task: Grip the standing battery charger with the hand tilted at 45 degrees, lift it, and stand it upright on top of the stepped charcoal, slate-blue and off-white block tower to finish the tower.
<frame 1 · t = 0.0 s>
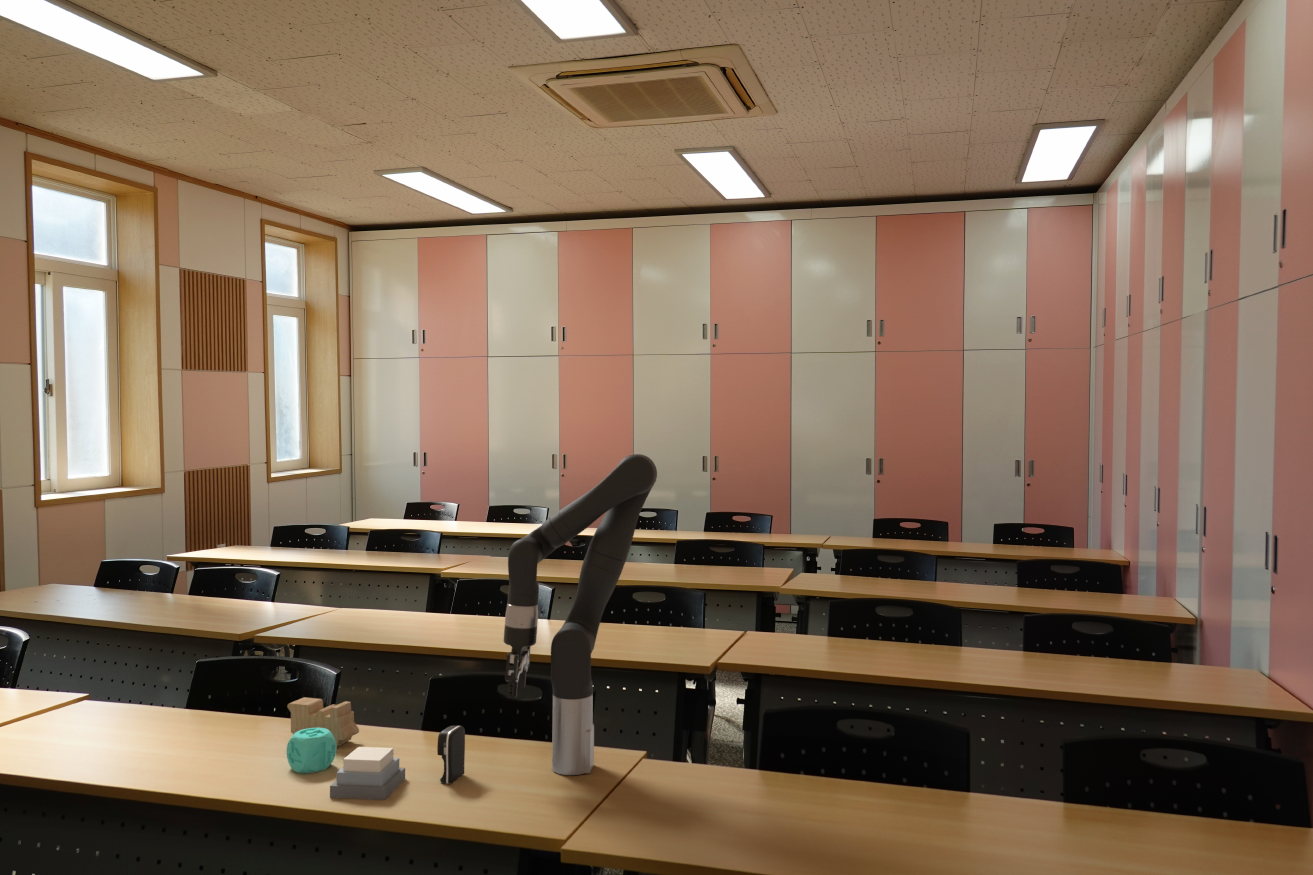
hand: (515, 692, 213), 17 cm above the table, tool pointing down, fingers open, 8 cm apart
toy train: (323, 743, 229), on the table
decorative dice: (311, 768, 212), on the table
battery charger: (450, 779, 205), on the table
block tower: (368, 787, 199), on the table
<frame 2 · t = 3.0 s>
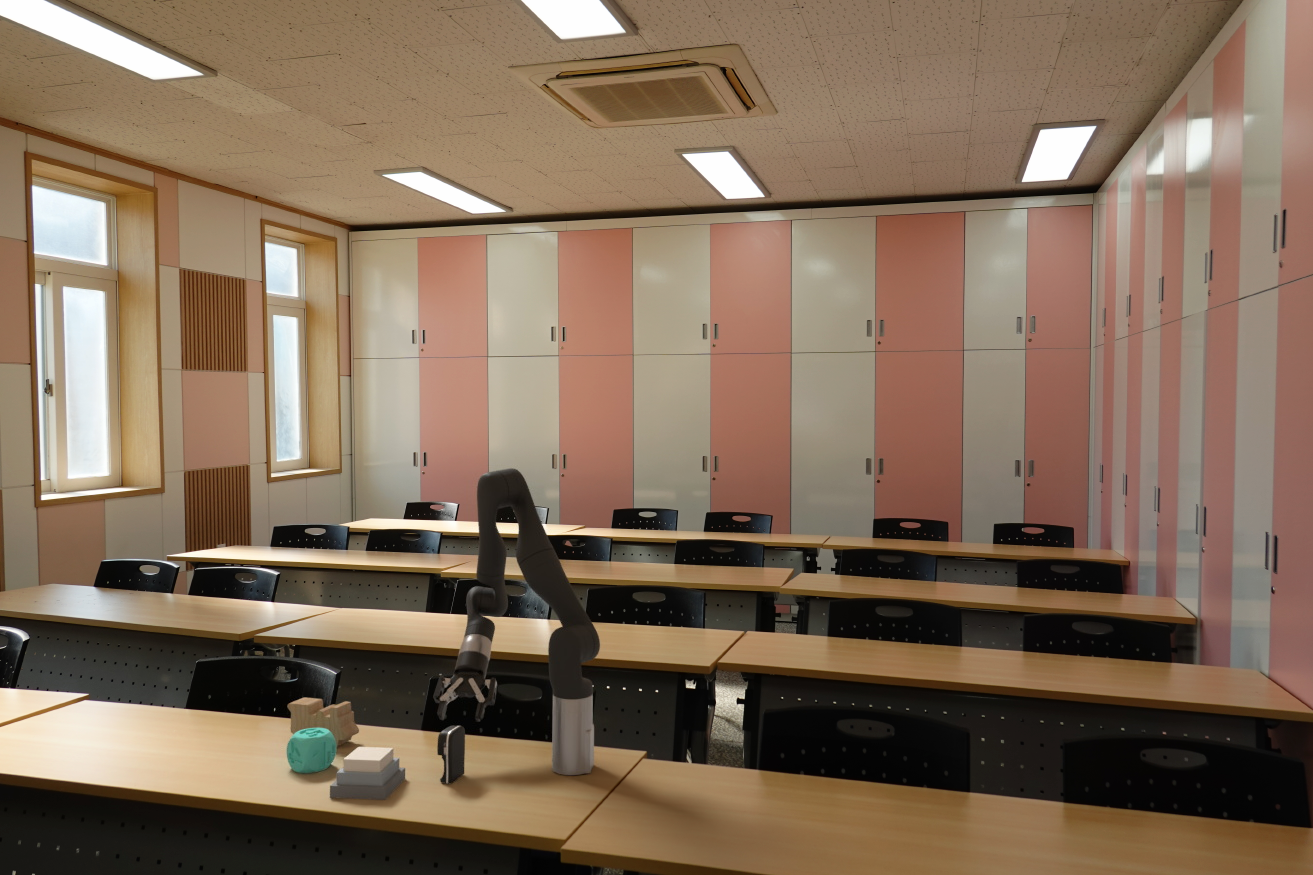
hand: (459, 719, 212), 11 cm above the table, tool tilted 45°, fingers open, 8 cm apart
nothing on the table moved.
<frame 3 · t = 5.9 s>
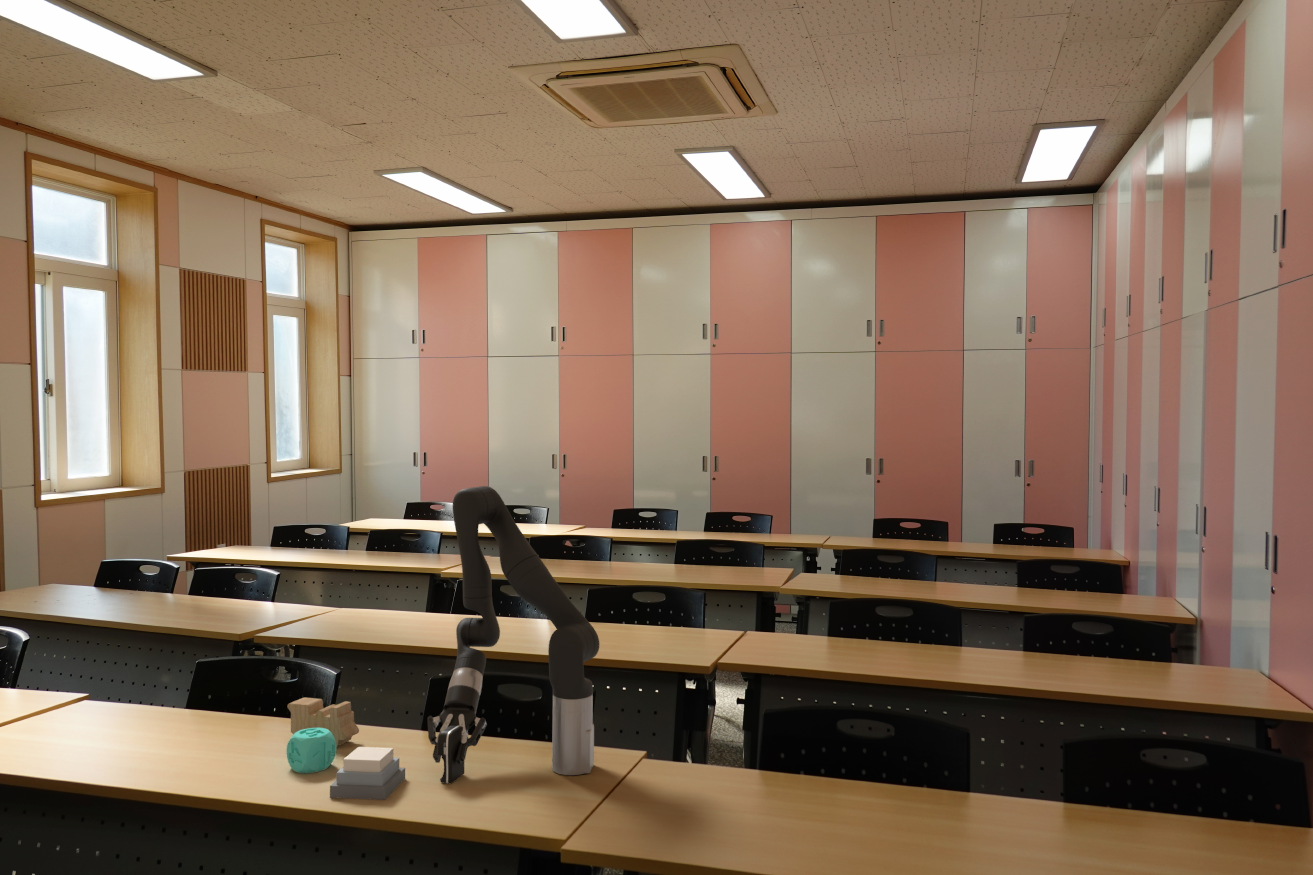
hand: (447, 761, 203), 5 cm above the table, tool tilted 45°, fingers closed on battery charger, 4 cm apart
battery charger: (450, 779, 205), on the table, touching gripper
everything else where it was.
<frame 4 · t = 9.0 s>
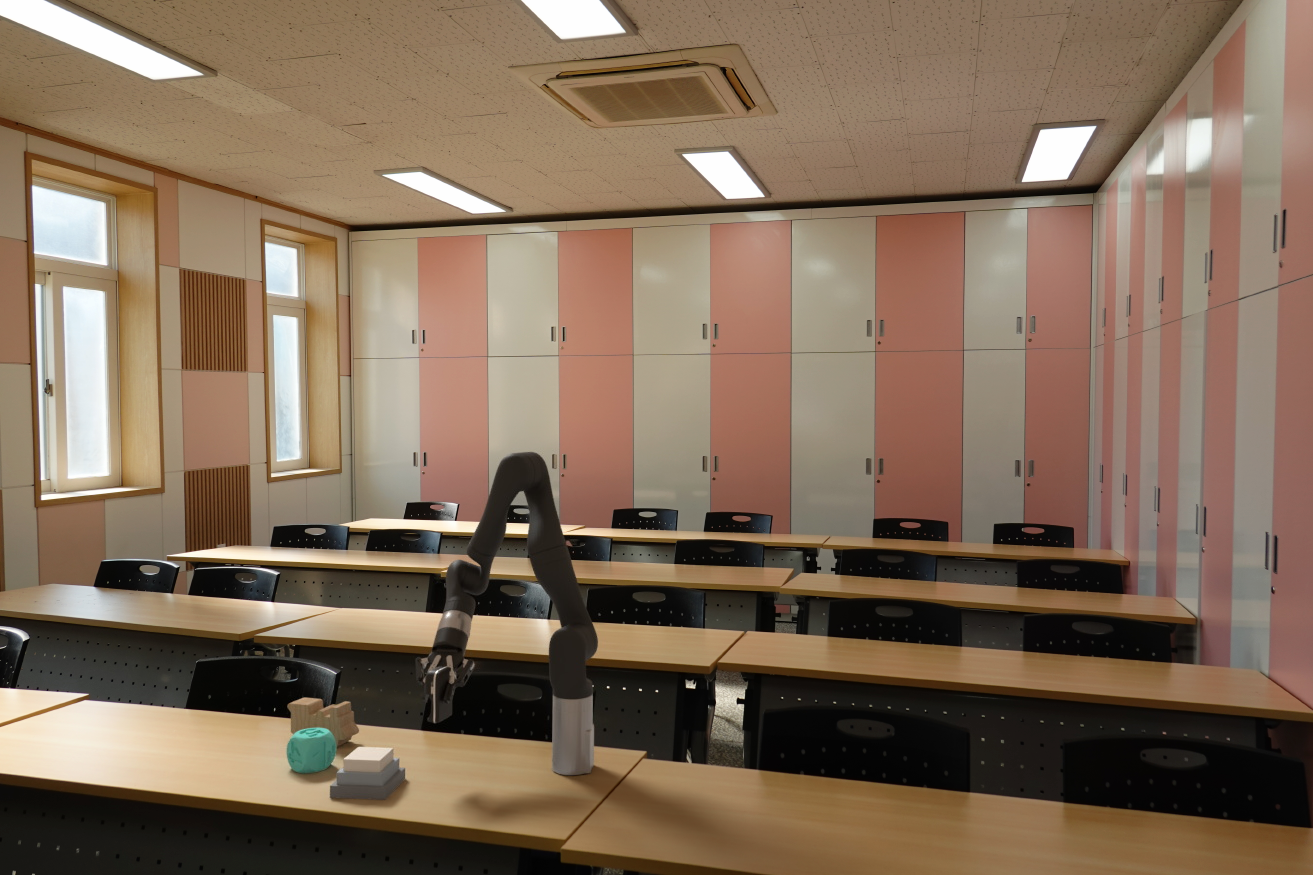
hand: (435, 700, 203), 18 cm above the table, tool tilted 45°, fingers closed on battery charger, 4 cm apart
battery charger: (437, 719, 205), point 13 cm above the table, touching gripper
everything else where it was.
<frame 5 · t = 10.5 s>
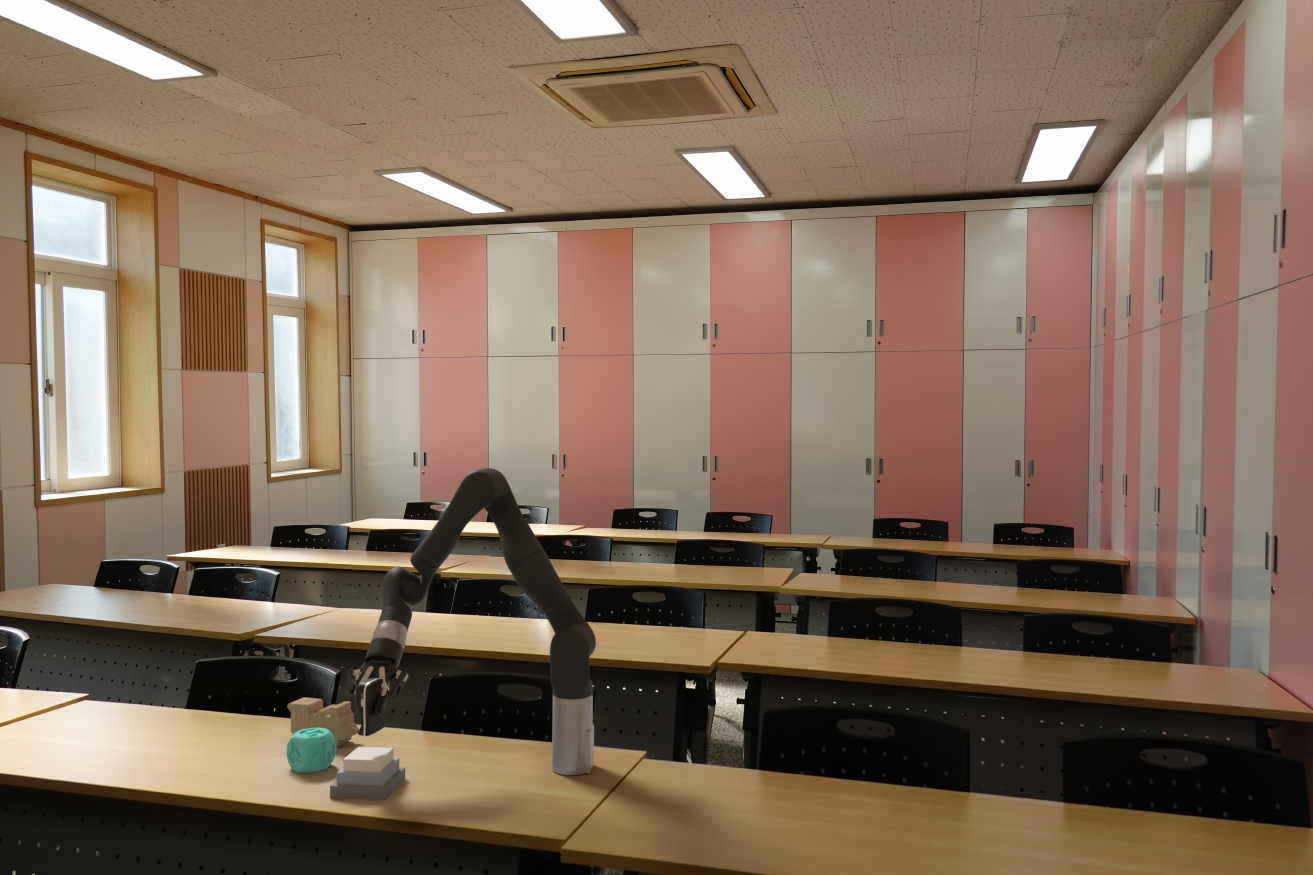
hand: (366, 713, 198), 17 cm above the table, tool tilted 45°, fingers closed on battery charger, 4 cm apart
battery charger: (369, 732, 200), point 12 cm above the table, touching gripper
everything else where it was.
when the fingers open (13 cm above the table, at t = 11.9 s): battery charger drops 1 cm, resting on block tower.
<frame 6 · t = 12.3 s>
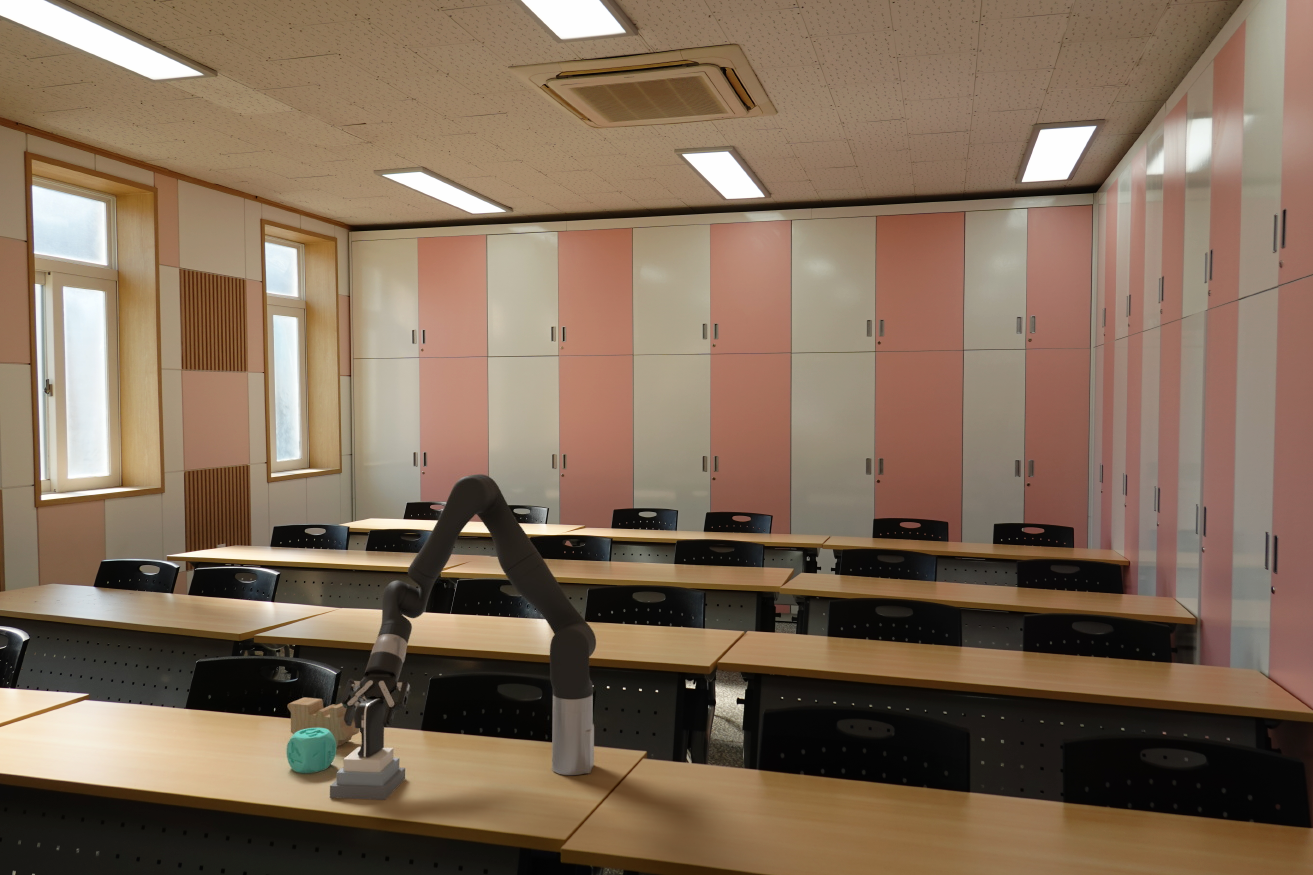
hand: (366, 724, 198), 14 cm above the table, tool tilted 45°, fingers open, 8 cm apart
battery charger: (368, 753, 200), point 7 cm above the table, touching block tower
everything else where it was.
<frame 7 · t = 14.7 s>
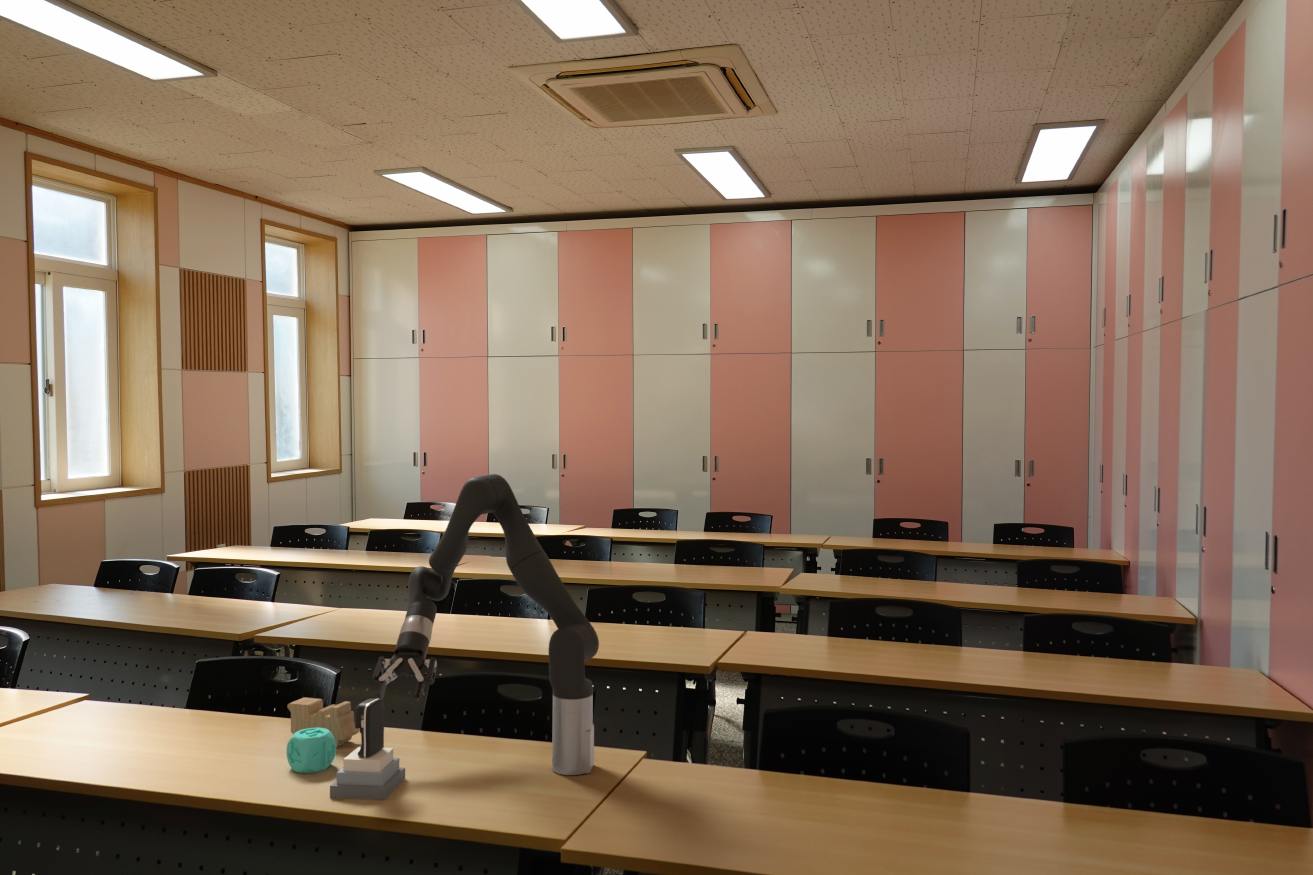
hand: (397, 698, 212), 16 cm above the table, tool tilted 45°, fingers open, 8 cm apart
nothing on the table moved.
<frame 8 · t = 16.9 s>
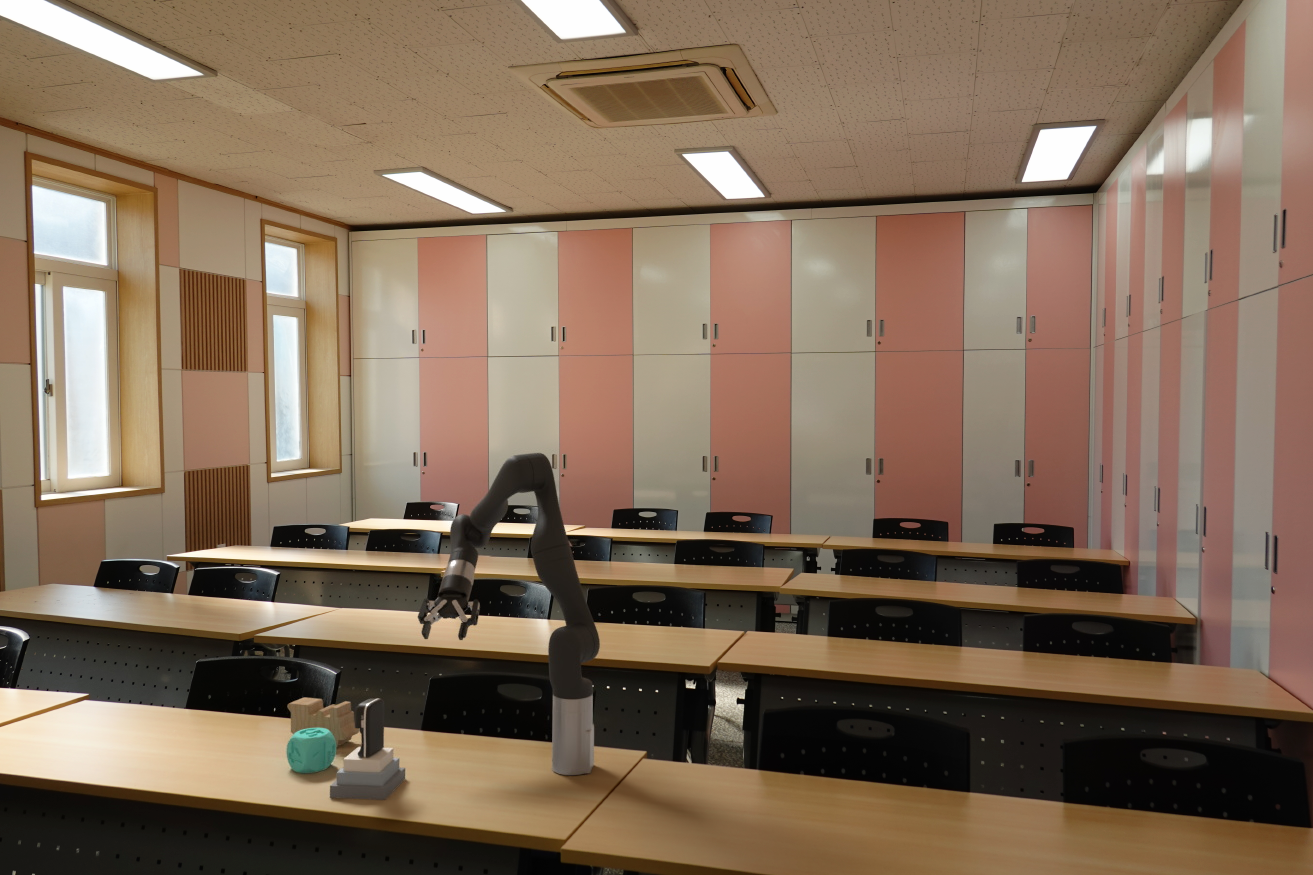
hand: (442, 637, 218), 29 cm above the table, tool tilted 45°, fingers open, 8 cm apart
nothing on the table moved.
at the end: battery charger 0.3 cm off-centre on the block tower, point 7.3 cm above the block tower's base; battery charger tilted 0°; the gripper is holding nothing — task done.
